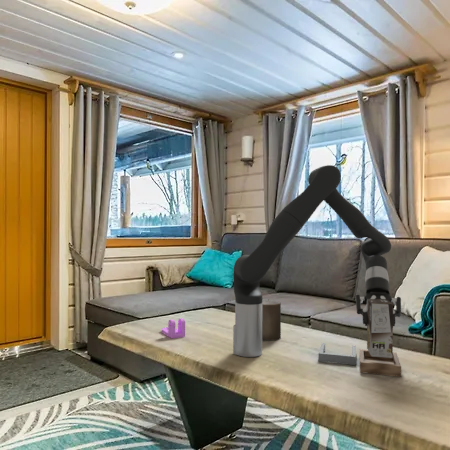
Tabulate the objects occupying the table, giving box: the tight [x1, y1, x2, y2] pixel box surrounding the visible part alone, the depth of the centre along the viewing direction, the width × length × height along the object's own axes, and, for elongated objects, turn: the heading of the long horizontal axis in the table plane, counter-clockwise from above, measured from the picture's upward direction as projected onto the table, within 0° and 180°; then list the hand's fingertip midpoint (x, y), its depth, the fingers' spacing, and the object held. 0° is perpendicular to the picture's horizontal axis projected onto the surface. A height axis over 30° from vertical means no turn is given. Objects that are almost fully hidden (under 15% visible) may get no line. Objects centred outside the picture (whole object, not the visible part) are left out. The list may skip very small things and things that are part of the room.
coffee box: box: [366, 299, 394, 358], centre depth 125 cm, size 9×6×16 cm
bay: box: [317, 342, 357, 366], centre depth 134 cm, size 11×13×2 cm
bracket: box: [161, 317, 186, 339], centre depth 162 cm, size 13×6×7 cm, turn 31°
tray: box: [359, 348, 402, 378], centre depth 124 cm, size 11×14×3 cm
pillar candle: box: [262, 299, 282, 341], centre depth 158 cm, size 10×10×15 cm
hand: (379, 325), depth 125 cm, fingers closed on coffee box, 7 cm apart
